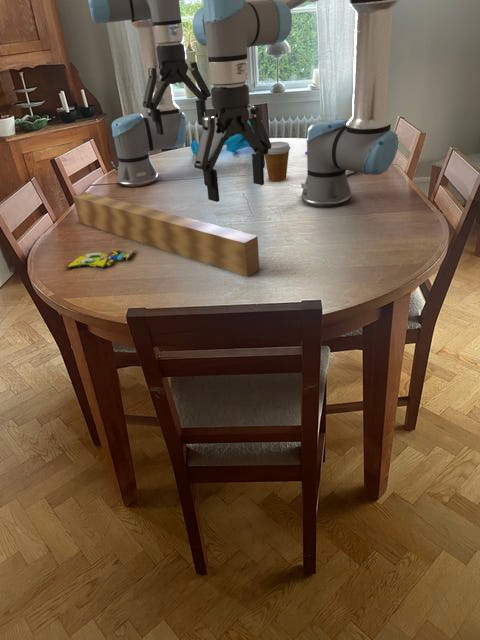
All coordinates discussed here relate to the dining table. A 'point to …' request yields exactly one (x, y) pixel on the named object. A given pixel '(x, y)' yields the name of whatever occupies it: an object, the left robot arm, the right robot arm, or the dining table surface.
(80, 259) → the toy
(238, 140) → the toy
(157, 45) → the left robot arm
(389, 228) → the dining table surface
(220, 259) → the post
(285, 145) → the disposable coffee cup
